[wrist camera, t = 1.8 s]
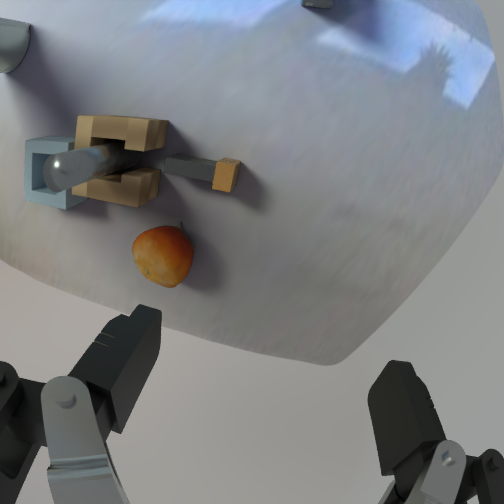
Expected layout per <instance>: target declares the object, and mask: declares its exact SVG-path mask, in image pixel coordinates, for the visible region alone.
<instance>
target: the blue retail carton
mask: <svg viewBox="0 0 504 504" xmlns="http://www.w3.org/2000/svg"><path fill="white" fill-rule="evenodd" d="M333 1H334V0H301V6H307V7H317V8H325V9H331V6H332V4H333Z"/></svg>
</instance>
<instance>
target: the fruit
mask: <svg viewBox="0 0 504 504" xmlns="http://www.w3.org/2000/svg"><path fill="white" fill-rule="evenodd" d="M180 224H181V221H180V223H179V224H178V226H177V227H173V226H160V227H156V228H153V229H150V230H147V231H145V232H143V233H142V234H140V235H139V236H138V237H137V238H136V240H135V241H134V243H133V248H132V252H133V255H134V260H135V263H136V265H137V266H138V269H139V271H140V272H141V273H142V274H143V275H144V276H145V277H146V278H147V279H149V280H151V281H153V282H155V283H157V284H160V285H162V286H164V287H168V288H172V287H176V286H177V285H178V284H179V283H180V282H181V281H182V280H183V279H184V278H185V277H186V276H187V274H188V272H189V270H190V267H191V265H192V260H193V255H194V249H195V246H193V245H192V243H191V242H190V240H189V239H188V238H187V237H186V236H185V235H184V233H183V232H182V230H181V228H180Z"/></svg>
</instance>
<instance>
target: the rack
mask: <svg viewBox="0 0 504 504" xmlns="http://www.w3.org/2000/svg"><path fill="white" fill-rule="evenodd" d="M74 145H75V138H74V137H58V136H47V137H41V138H35V139H29V140H26V146H25V201H30V202H34V203H38V204H43V205H47V206H51V207H56V208H60V209H64V210H67V209H69V208H71V207H73V206H75V205H77V204H79V203H81V202H83V201H85V200H87V199H88V197H83V196H78V195H73V194H72V188H69V189H67V190H64V191H62V192H59V193H55V192H53V191H51V190H50V189H49V188H48V187H47V185H46V184H45V181H44V177H43V168H44V164H45V161H46V160H47V158H48V157H49V156H51V155H53V154H57V153H61V152H66V151H70V150H74Z"/></svg>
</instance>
